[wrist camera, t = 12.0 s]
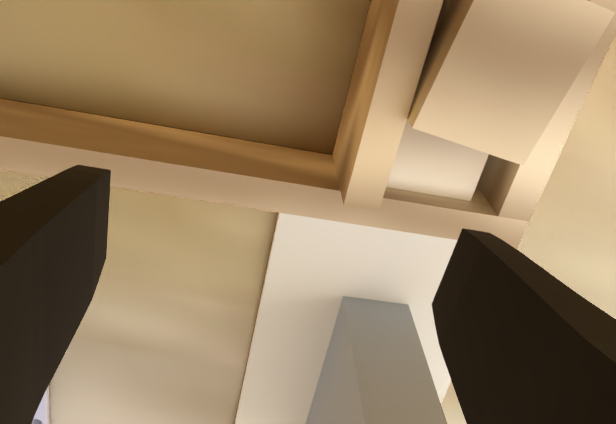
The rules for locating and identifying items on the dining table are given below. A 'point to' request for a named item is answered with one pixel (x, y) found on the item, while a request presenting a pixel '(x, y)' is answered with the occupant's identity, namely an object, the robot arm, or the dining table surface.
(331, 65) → the dining table surface
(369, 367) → the tall block
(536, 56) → the offcut block top
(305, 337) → the beige panel
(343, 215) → the wooden tray
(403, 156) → the offcut block
